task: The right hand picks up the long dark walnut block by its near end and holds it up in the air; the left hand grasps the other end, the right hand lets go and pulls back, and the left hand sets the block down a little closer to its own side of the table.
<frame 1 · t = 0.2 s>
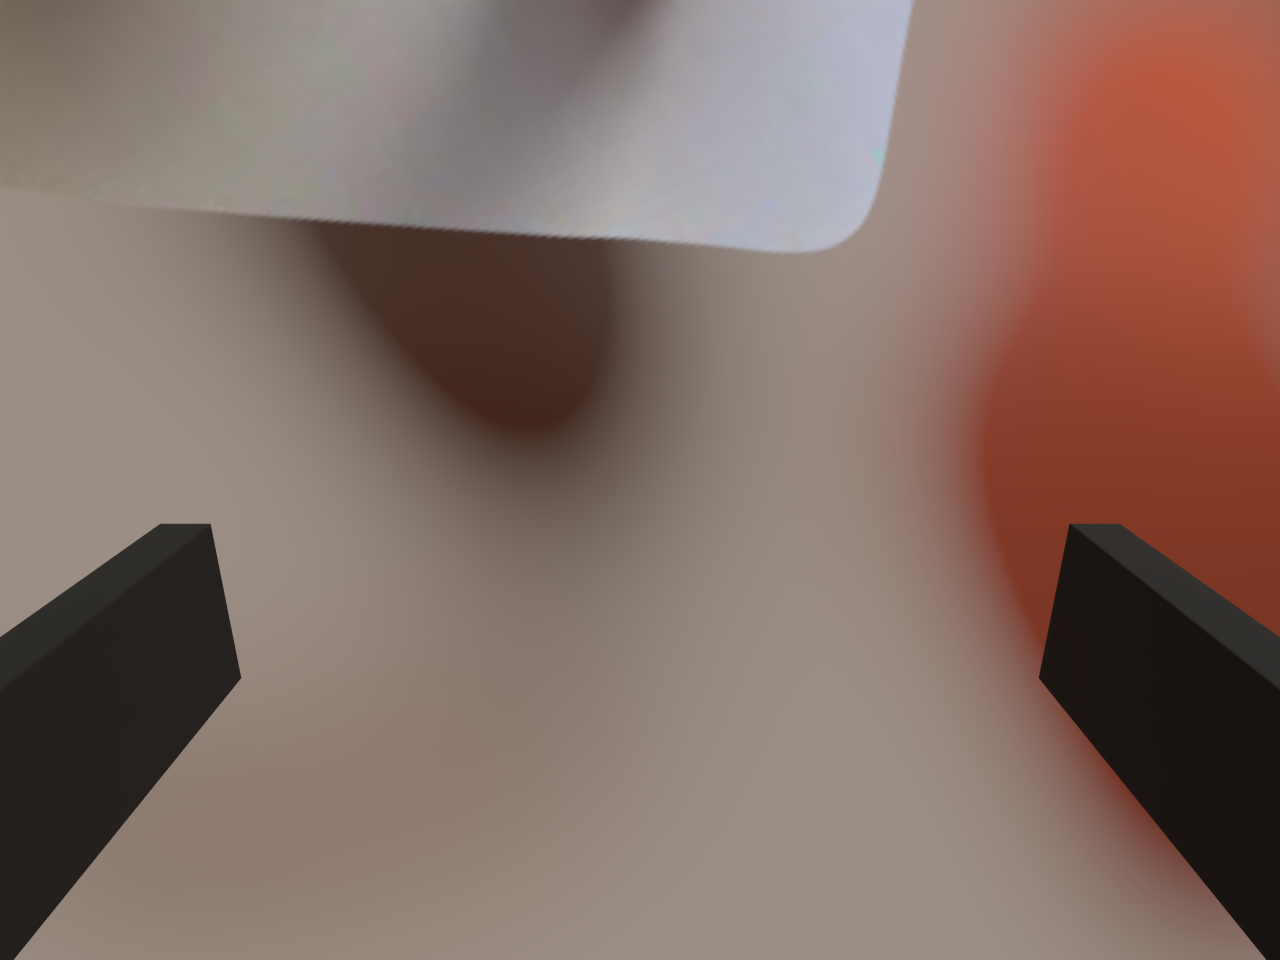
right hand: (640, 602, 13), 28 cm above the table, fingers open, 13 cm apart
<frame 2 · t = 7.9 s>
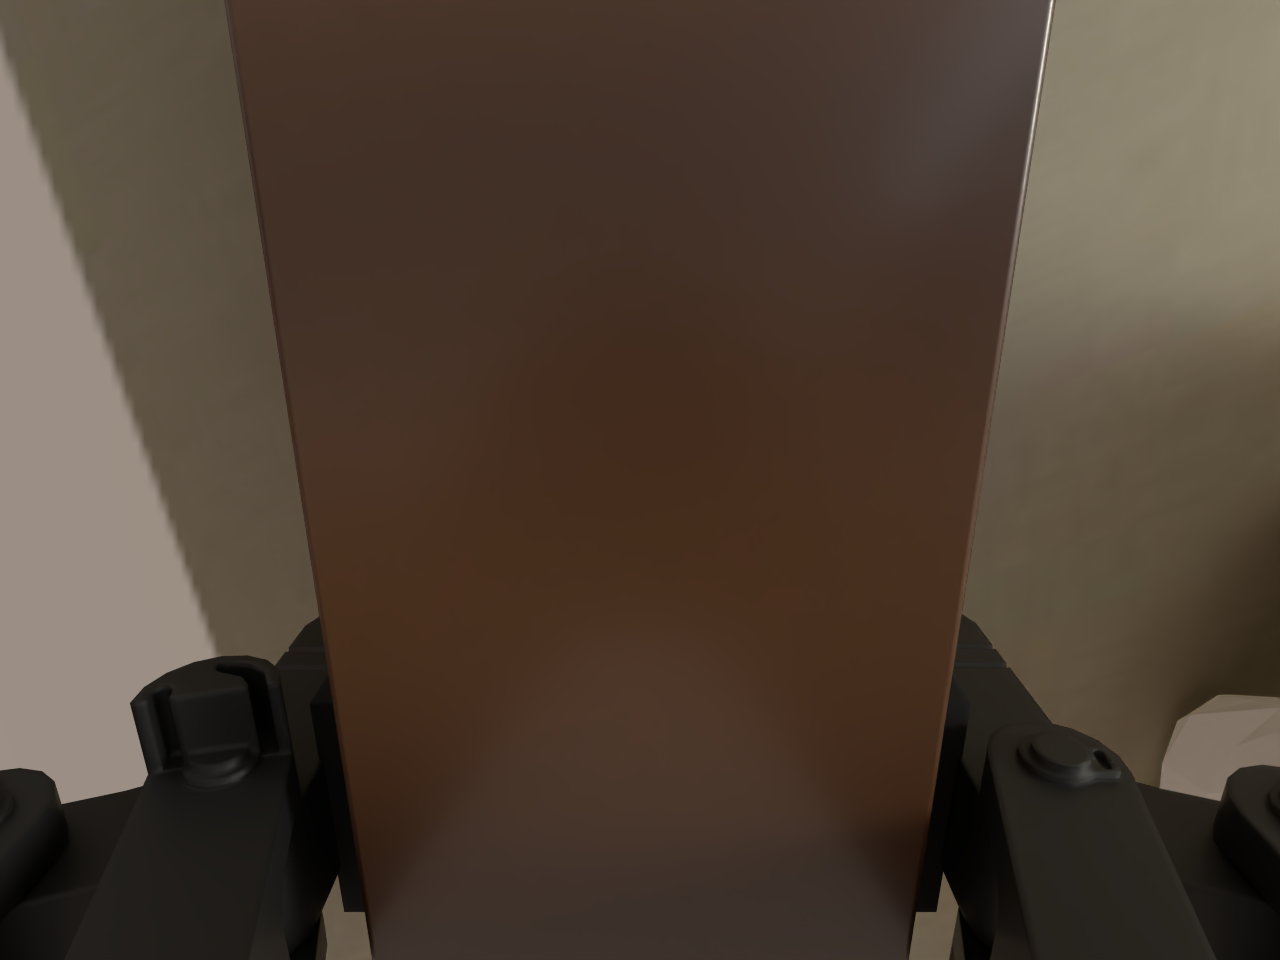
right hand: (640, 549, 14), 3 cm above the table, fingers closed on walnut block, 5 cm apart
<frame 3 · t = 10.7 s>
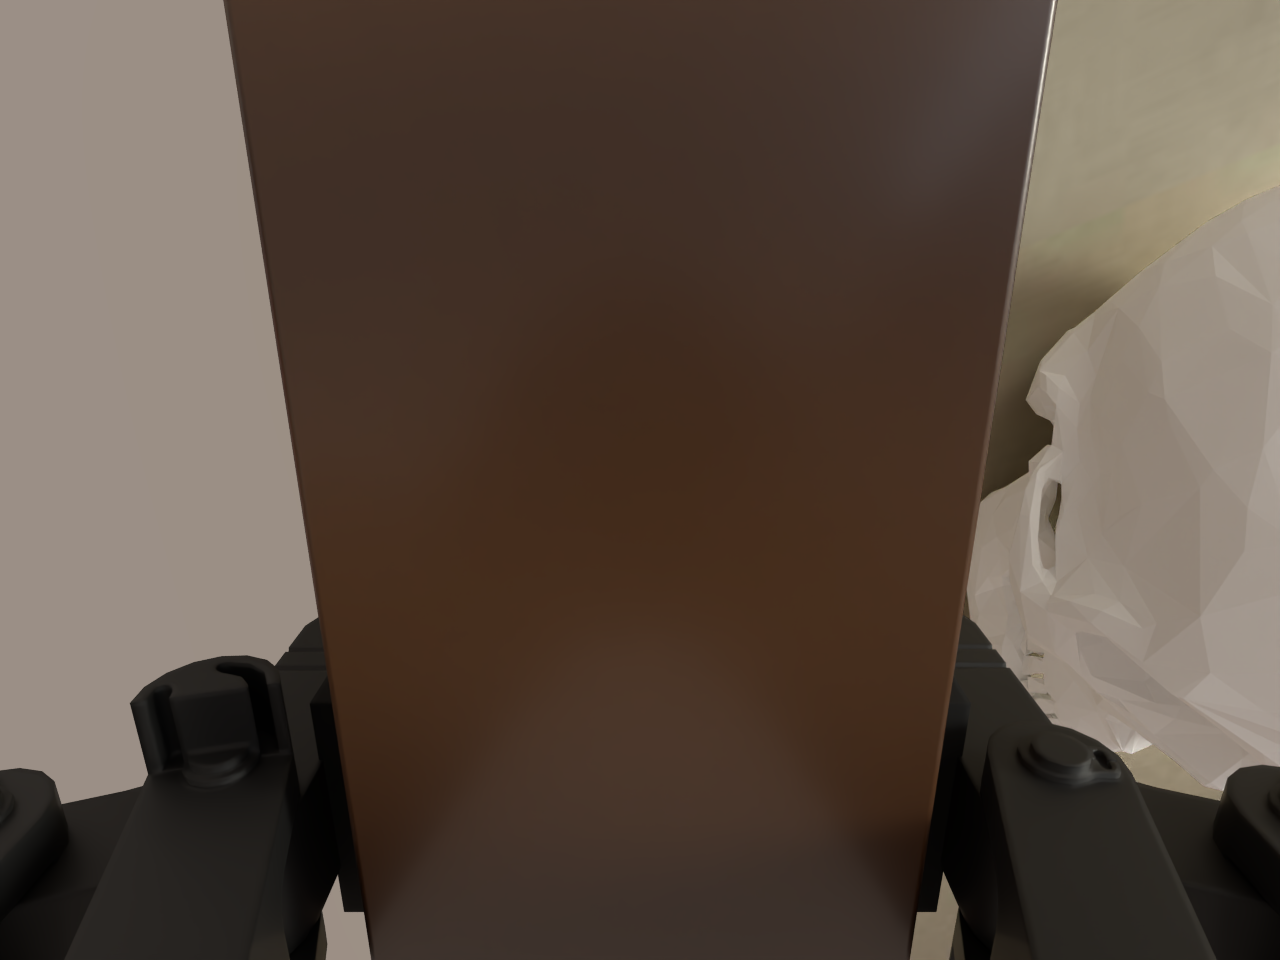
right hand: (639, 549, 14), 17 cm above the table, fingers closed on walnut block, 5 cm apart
skull: (1120, 456, 31), on the table
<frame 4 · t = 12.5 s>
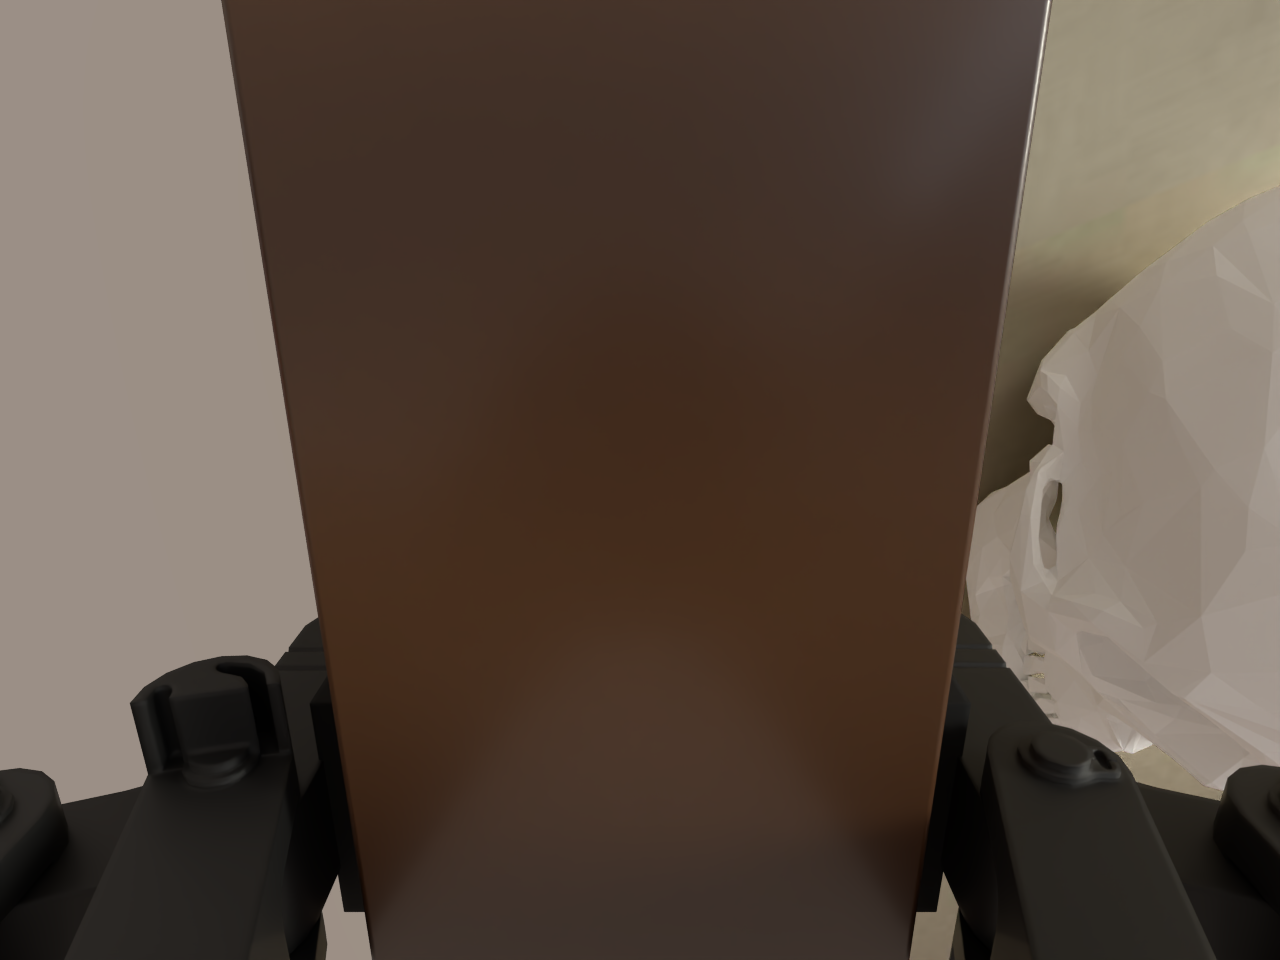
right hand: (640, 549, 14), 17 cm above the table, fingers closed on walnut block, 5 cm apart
skull: (1120, 456, 31), on the table
when the right hand's fingers open (17 cm above the table, at t = 13.4 s): walnut block stays where it is, held by the left hand.
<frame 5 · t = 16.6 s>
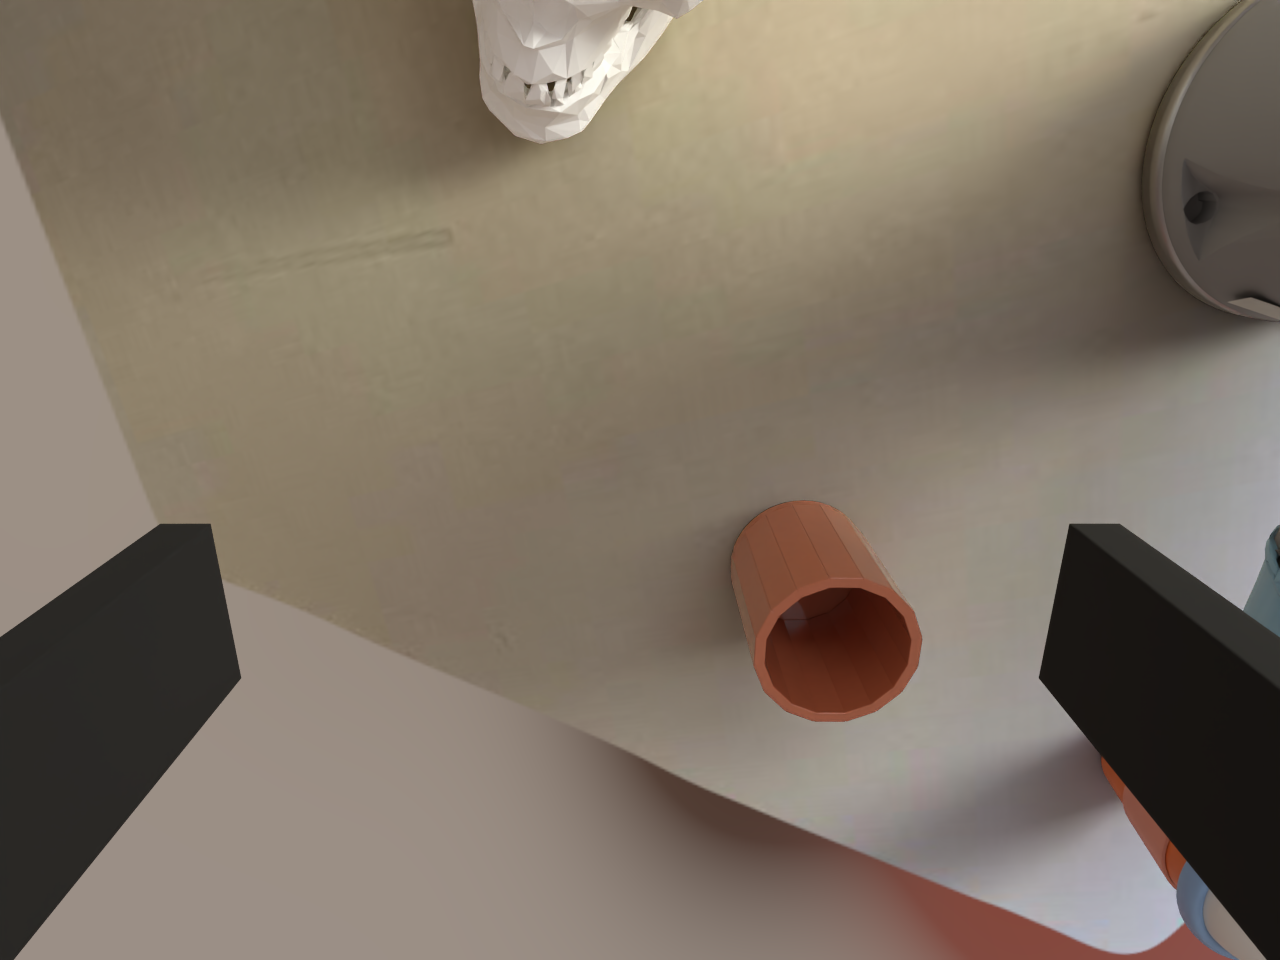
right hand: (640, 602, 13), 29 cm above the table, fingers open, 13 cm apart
terracotta cup: (797, 562, 44), on the table
cup with straw: (1148, 748, 49), on the table
when the left hand's fingers open (5 cm above the table, at t = 21.0 s): walnut block stays where it is, on the table.
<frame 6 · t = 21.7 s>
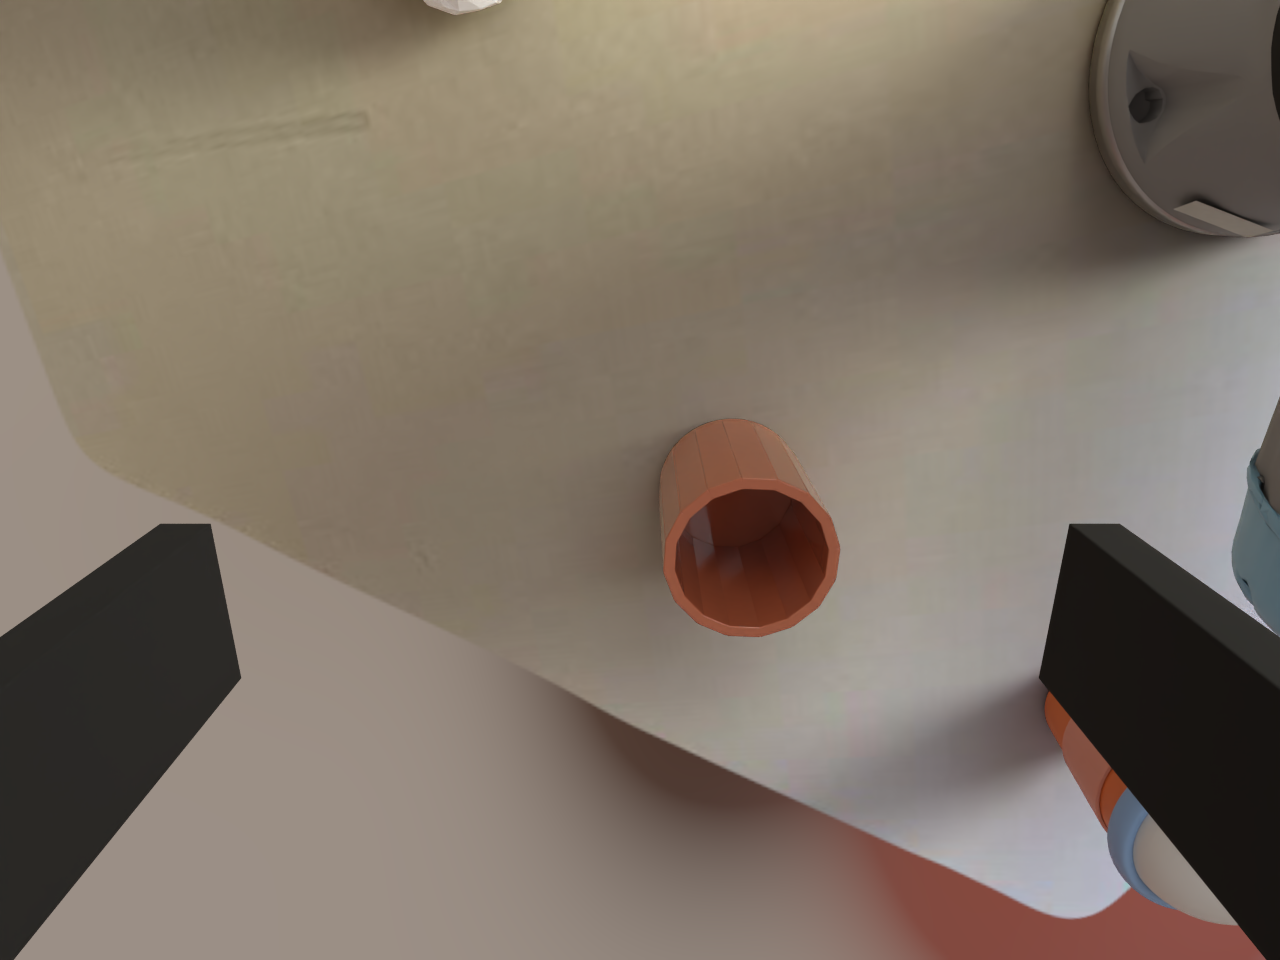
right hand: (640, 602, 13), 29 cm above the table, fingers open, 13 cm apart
terracotta cup: (729, 485, 43), on the table
cup with straw: (1094, 698, 47), on the table
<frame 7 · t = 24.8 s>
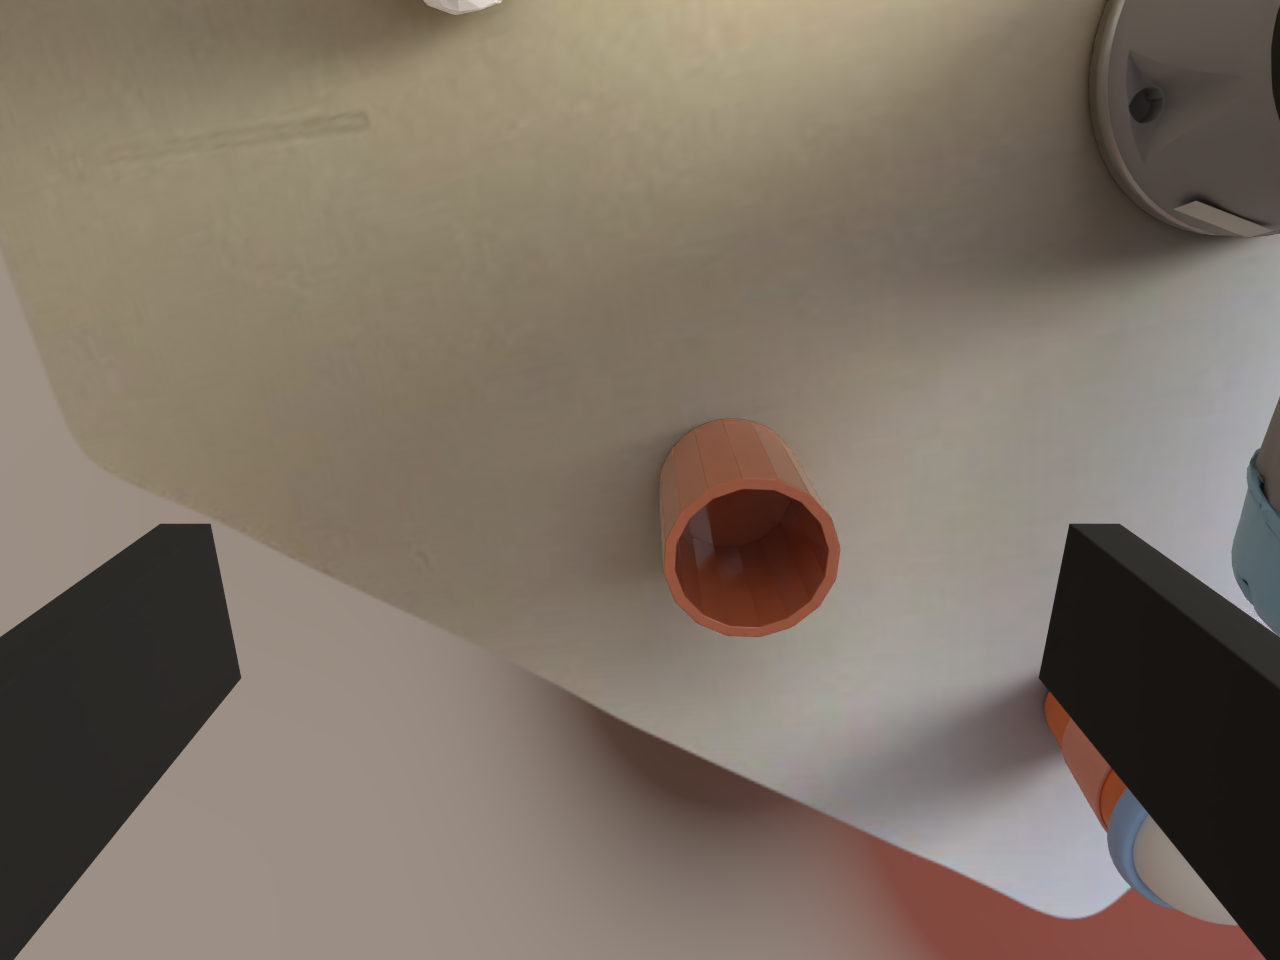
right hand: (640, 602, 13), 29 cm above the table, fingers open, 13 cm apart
terracotta cup: (729, 485, 43), on the table
cup with straw: (1094, 698, 47), on the table
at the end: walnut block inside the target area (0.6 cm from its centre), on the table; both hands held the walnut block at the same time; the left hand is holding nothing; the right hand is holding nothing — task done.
